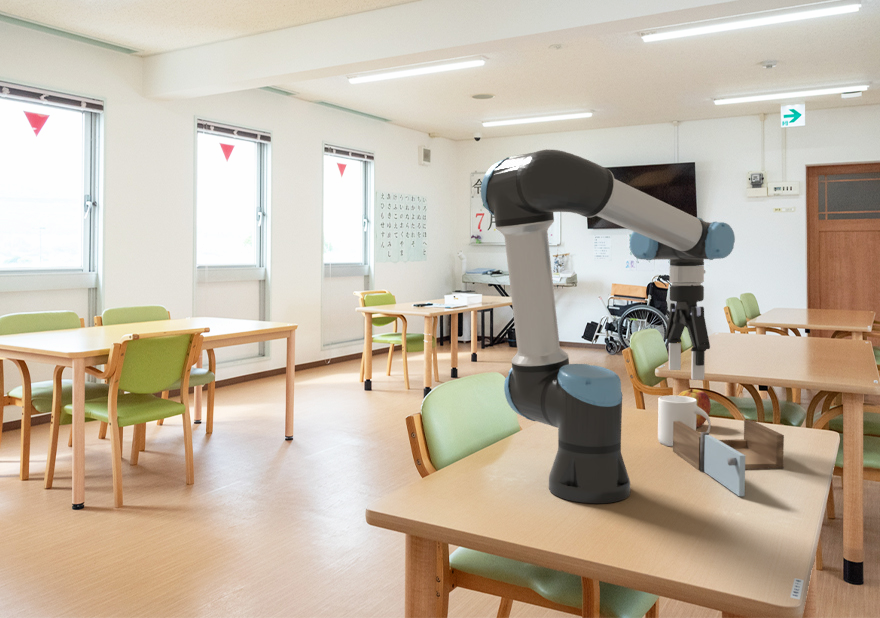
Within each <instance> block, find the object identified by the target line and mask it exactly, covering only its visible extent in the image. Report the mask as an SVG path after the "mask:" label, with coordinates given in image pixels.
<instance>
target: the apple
mask: <svg viewBox="0 0 880 618" xmlns="http://www.w3.org/2000/svg"><path fill="white" fill-rule="evenodd" d="M677 396H686V397H691V398H695V399H696V400H697V406H698V407H699V408H701V409H702V410H704V411H705V412H706V413H707V415H708V416H709V415H710V413H711V409H712V408H711V406H712V404H711V399H710V397H709V395H708V394H707V392H705V391H703V390H700V389H693V388H690V389H686V390H683V391H681V392H680V393H678V395H677ZM706 421H707V420H706V418H705V417H703V416H702V415H699V414H696V428H699V427H702V426H703V425H704V424H705V423H706Z"/></svg>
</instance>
